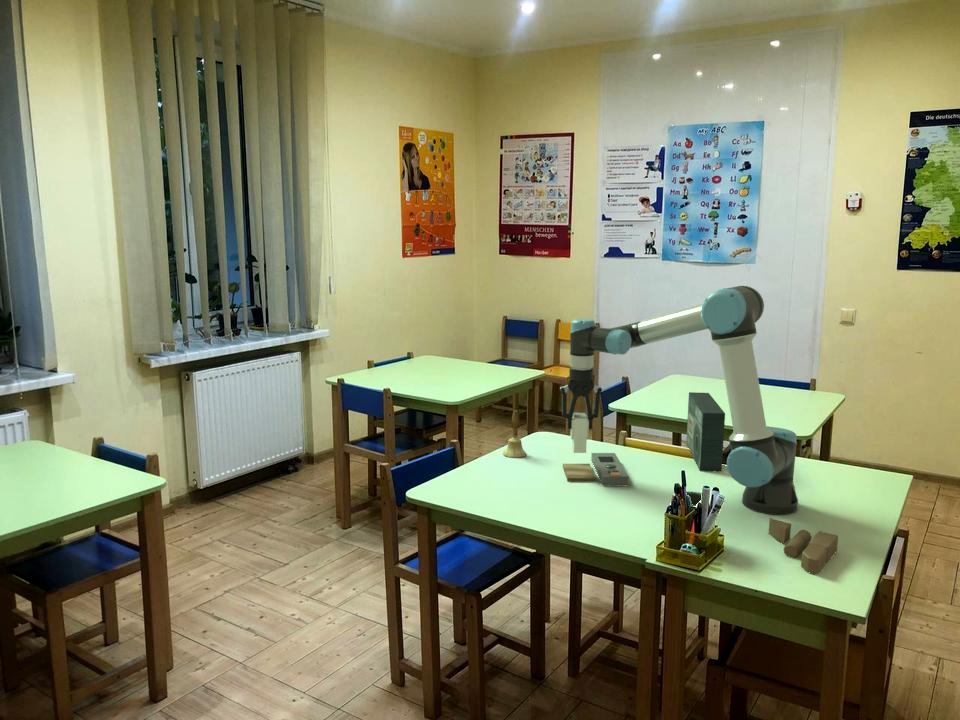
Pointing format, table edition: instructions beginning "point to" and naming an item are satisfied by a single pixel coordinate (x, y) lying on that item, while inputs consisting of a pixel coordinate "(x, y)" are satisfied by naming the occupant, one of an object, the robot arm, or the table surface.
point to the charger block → (580, 433)
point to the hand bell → (514, 440)
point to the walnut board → (579, 472)
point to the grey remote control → (609, 469)
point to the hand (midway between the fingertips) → (579, 438)
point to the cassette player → (705, 431)
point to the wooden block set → (815, 552)
